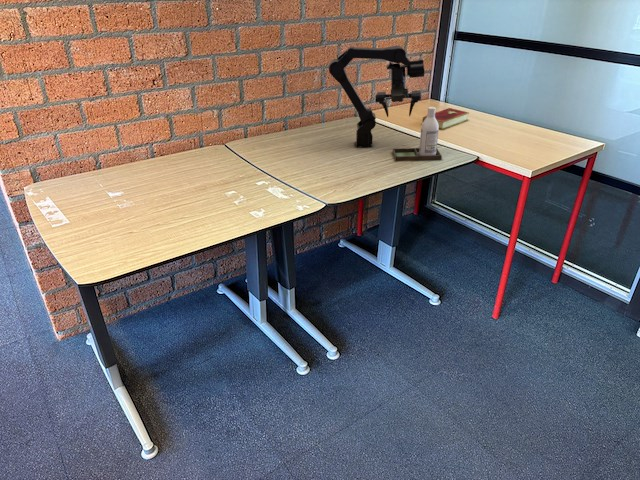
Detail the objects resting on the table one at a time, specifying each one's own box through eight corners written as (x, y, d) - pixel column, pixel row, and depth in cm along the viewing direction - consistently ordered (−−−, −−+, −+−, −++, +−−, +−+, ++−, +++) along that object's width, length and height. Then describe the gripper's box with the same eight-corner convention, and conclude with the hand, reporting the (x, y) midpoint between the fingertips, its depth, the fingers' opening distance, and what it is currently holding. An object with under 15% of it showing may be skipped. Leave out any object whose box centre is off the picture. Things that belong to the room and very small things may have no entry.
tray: (395, 161, 197) (396, 156, 196) (392, 152, 205) (392, 148, 204) (441, 159, 197) (441, 155, 196) (436, 151, 205) (436, 147, 205)
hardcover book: (422, 124, 237) (422, 115, 235) (447, 115, 249) (448, 107, 247) (442, 129, 229) (443, 121, 227) (468, 120, 241) (469, 111, 239)
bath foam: (439, 156, 201) (444, 107, 191) (428, 160, 197) (433, 111, 187) (426, 151, 206) (430, 104, 195) (415, 155, 202) (419, 107, 192)
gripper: (373, 85, 195) (374, 123, 203) (420, 82, 190) (420, 121, 198) (376, 78, 204) (377, 115, 212) (421, 76, 200) (421, 113, 208)
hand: (398, 116), depth 207 cm, fingers open, 9 cm apart
